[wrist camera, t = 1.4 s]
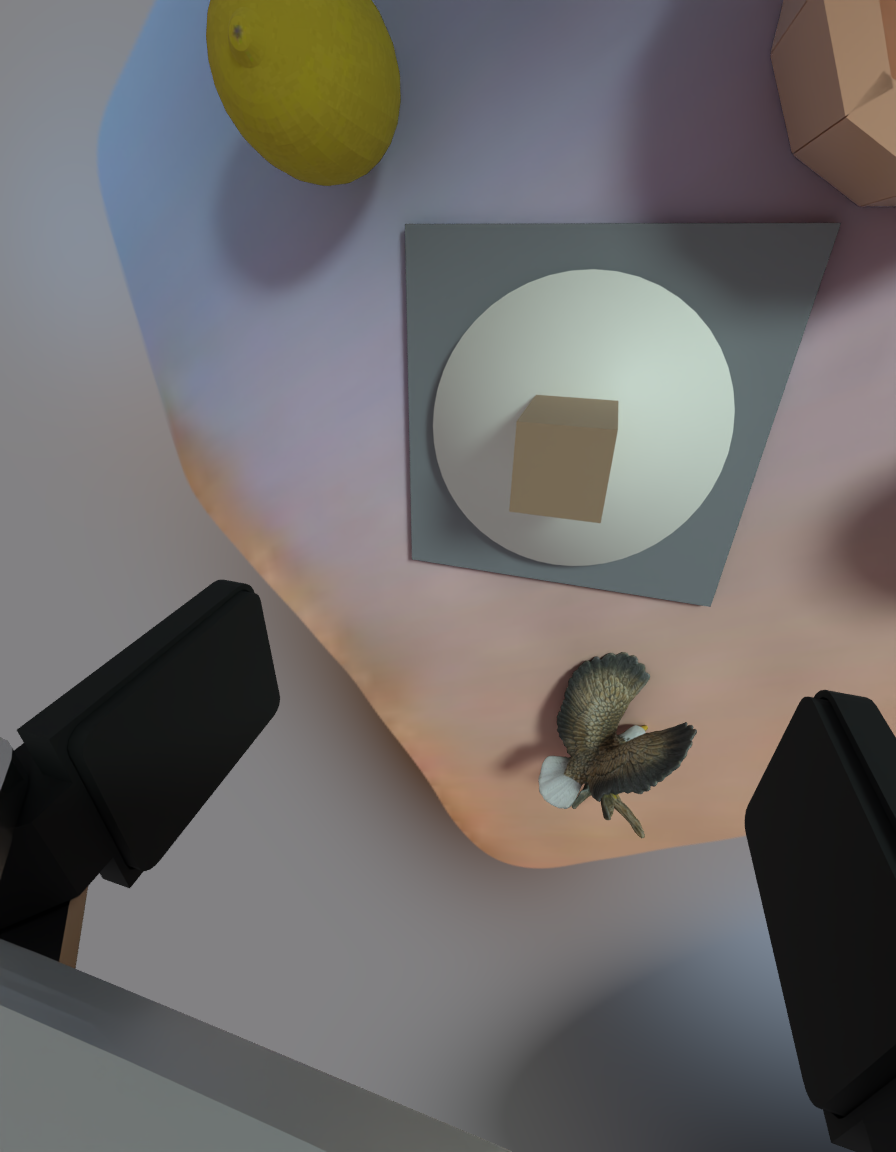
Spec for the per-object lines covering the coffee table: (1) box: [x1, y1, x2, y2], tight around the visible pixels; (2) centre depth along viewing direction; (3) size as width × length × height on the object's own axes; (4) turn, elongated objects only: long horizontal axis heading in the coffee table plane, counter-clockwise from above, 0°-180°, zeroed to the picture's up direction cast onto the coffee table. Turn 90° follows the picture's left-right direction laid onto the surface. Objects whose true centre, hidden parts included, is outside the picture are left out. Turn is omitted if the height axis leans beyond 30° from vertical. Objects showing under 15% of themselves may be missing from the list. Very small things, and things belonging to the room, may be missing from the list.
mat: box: [405, 223, 841, 607], centre depth 24 cm, size 16×16×1 cm
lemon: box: [206, 0, 401, 186], centre depth 17 cm, size 6×6×8 cm
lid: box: [433, 269, 735, 566], centre depth 21 cm, size 13×13×6 cm
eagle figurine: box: [539, 652, 697, 838], centre depth 29 cm, size 8×7×9 cm
